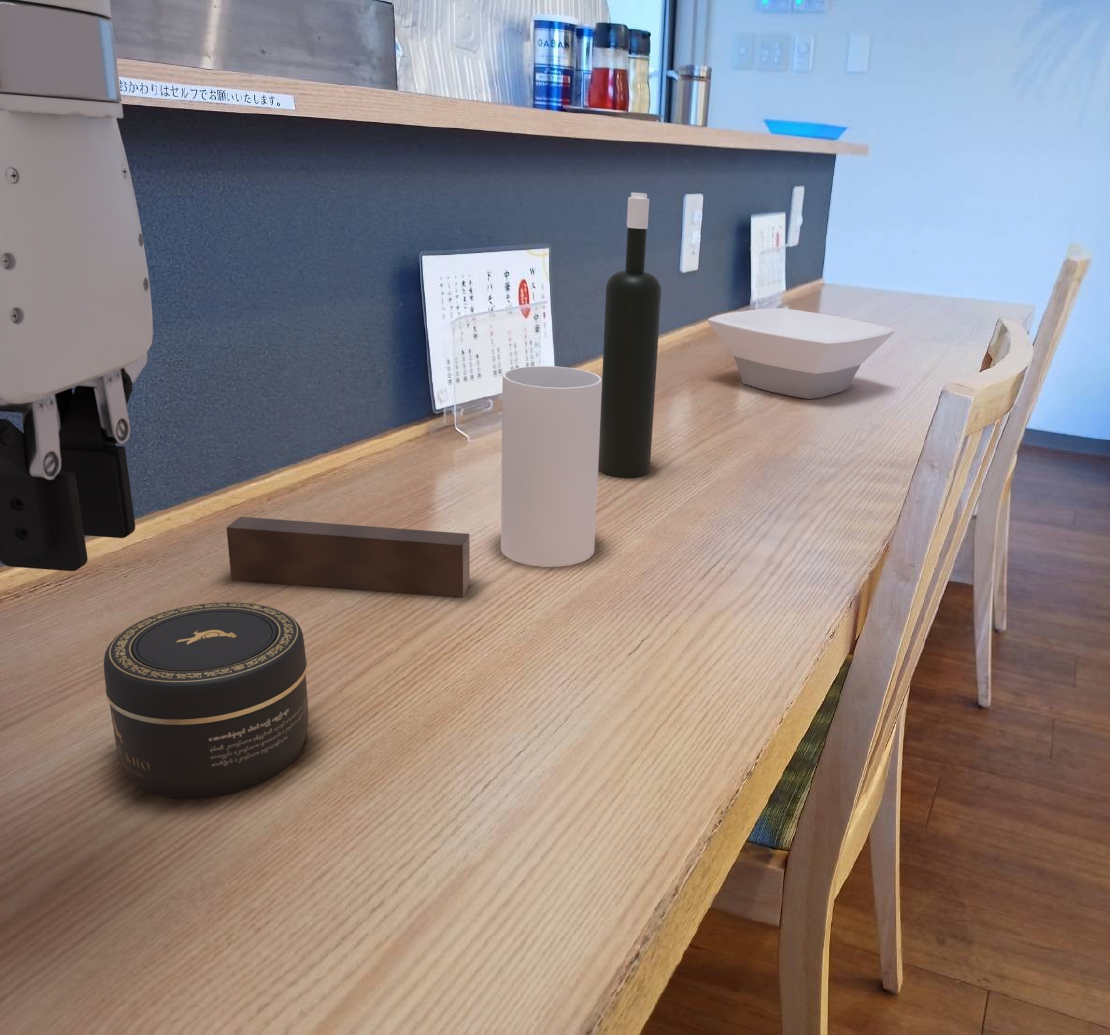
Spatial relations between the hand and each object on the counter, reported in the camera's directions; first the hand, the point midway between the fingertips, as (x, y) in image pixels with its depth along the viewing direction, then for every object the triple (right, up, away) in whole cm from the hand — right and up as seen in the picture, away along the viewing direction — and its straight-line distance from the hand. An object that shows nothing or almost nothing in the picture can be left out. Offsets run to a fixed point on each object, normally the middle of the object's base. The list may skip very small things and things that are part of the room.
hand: (70, 545), depth 41 cm
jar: (-1, -13, +15) cm, 20 cm away
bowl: (+43, +22, +118) cm, 128 cm away
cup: (+13, -2, +47) cm, 48 cm away
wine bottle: (+18, +6, +69) cm, 72 cm away
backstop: (-1, -4, +37) cm, 37 cm away
